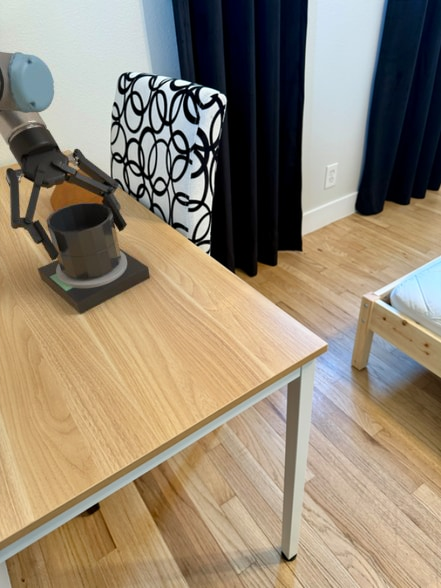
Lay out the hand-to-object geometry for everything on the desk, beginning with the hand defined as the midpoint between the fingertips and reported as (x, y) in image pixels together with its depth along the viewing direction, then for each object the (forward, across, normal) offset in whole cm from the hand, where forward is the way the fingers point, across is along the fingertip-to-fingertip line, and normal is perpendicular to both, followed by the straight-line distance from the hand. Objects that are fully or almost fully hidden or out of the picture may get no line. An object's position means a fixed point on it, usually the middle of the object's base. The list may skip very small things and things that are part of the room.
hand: (91, 242), depth 76 cm
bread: (-14, -12, -27) cm, 33 cm away
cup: (+2, 0, -6) cm, 6 cm away
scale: (+5, 0, -8) cm, 9 cm away
